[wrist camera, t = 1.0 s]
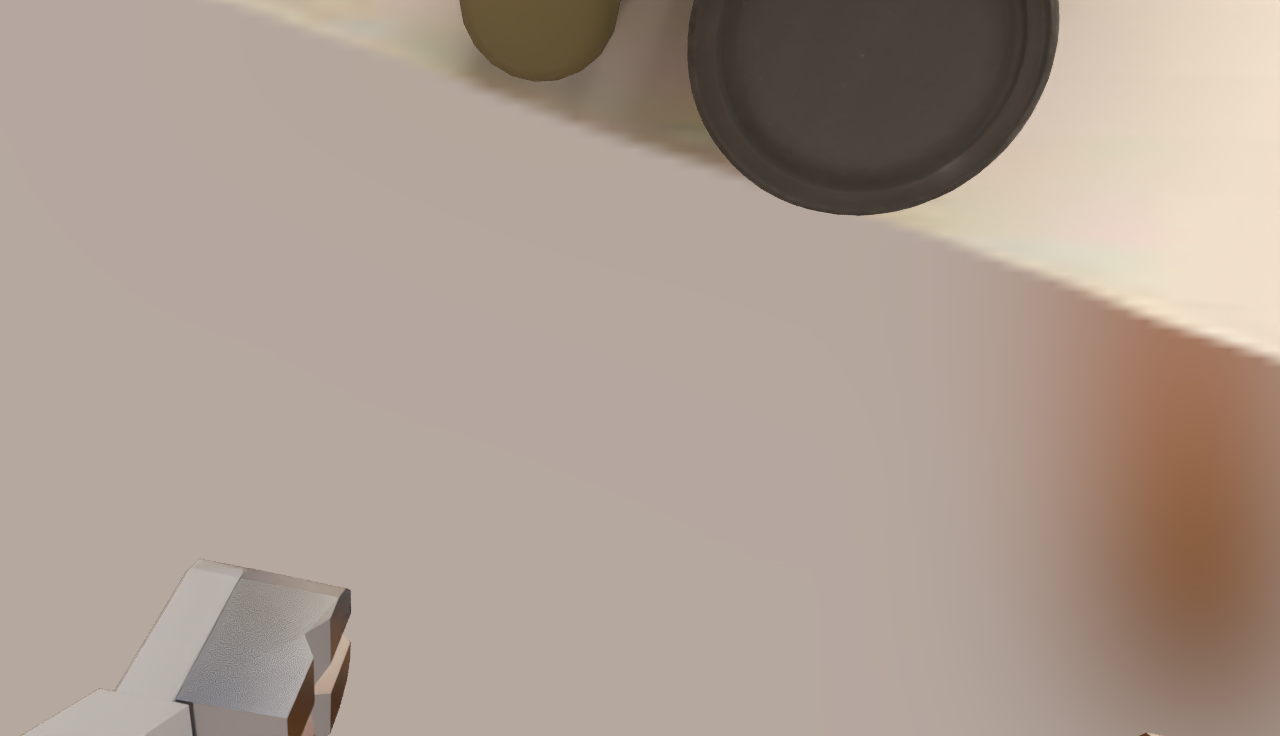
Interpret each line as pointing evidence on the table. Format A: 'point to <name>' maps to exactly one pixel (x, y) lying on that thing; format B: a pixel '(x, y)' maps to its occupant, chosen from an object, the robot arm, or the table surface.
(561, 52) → the cork
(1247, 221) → the table surface
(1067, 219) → the table surface
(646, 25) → the table surface
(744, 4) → the coffee can
